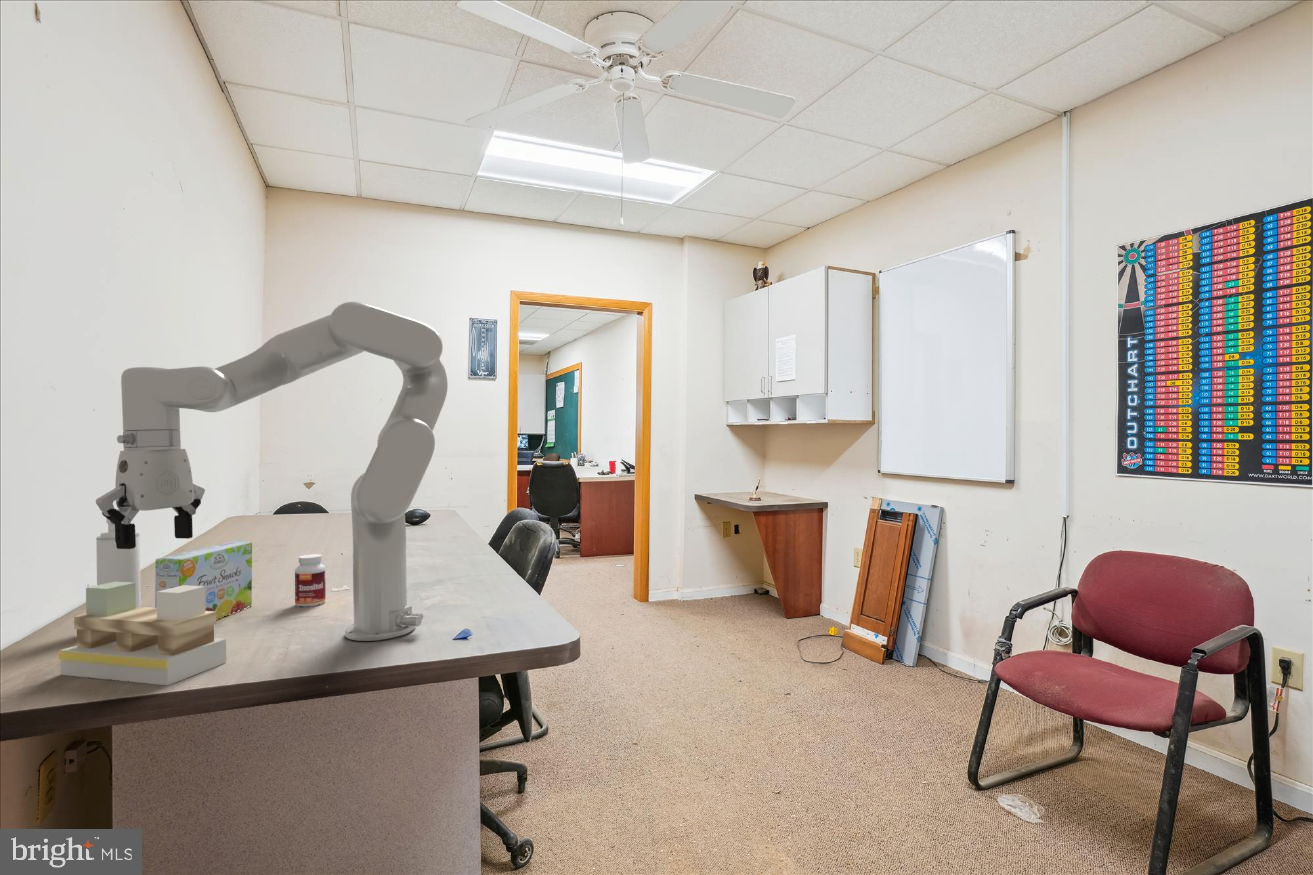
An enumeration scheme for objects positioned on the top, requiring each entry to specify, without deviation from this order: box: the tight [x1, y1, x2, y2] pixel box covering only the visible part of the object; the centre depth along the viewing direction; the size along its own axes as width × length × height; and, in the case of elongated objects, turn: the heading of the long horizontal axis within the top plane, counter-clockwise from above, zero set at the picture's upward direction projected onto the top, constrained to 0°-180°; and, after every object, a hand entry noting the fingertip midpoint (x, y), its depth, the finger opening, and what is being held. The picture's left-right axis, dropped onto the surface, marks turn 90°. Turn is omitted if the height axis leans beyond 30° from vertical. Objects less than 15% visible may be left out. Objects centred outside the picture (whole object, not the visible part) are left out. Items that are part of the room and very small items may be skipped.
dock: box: [57, 637, 227, 686], centre depth 104 cm, size 22×10×4 cm, turn 76°
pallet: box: [73, 606, 217, 655], centre depth 104 cm, size 21×7×5 cm, turn 76°
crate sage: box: [85, 582, 136, 616], centre depth 106 cm, size 4×4×4 cm
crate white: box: [156, 585, 205, 621], centre depth 103 cm, size 4×4×4 cm
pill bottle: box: [294, 553, 327, 608], centre depth 144 cm, size 6×6×11 cm
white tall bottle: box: [95, 517, 142, 607], centre depth 128 cm, size 7×7×25 cm
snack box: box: [154, 541, 253, 621], centre depth 132 cm, size 21×6×15 cm, turn 179°
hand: (156, 543), depth 106 cm, fingers open, 9 cm apart
